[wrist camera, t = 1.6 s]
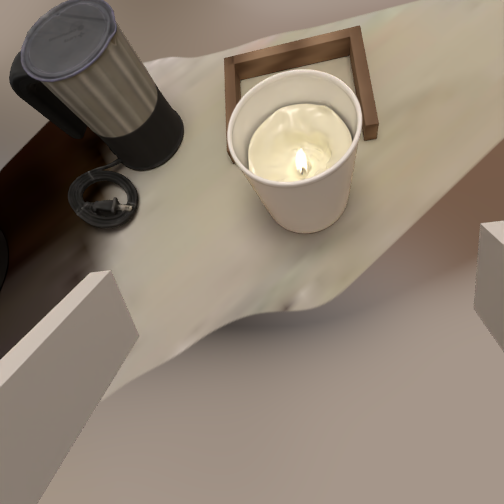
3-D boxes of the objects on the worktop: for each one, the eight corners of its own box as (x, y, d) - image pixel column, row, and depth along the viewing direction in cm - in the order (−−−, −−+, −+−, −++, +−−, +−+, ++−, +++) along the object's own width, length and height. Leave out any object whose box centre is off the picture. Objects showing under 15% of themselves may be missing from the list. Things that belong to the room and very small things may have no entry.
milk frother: (179, 96, 45) (108, -21, 31) (201, 204, 40) (127, 118, 26) (81, 135, 47) (-26, 40, 34) (89, 242, 42) (-35, 181, 28)
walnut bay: (233, 163, 40) (226, 151, 38) (230, 74, 44) (224, 58, 42) (376, 138, 37) (378, 123, 35) (358, 44, 41) (359, 25, 39)
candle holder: (305, 261, 35) (288, 212, 24) (242, 199, 39) (201, 132, 28) (377, 193, 35) (393, 113, 24) (307, 138, 39) (294, 47, 28)
